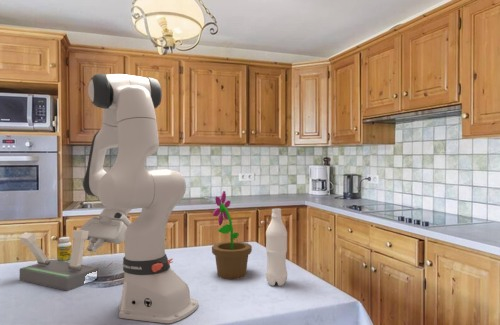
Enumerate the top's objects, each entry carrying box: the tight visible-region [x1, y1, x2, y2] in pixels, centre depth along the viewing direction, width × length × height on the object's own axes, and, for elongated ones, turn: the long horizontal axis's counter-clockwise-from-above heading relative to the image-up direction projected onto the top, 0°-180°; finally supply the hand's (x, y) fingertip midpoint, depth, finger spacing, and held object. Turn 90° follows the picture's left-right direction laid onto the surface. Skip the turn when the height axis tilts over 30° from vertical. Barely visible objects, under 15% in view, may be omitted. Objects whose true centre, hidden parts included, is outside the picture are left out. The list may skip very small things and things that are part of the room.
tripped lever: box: [68, 229, 89, 271], centre depth 121 cm, size 4×3×13 cm, turn 65°
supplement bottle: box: [56, 236, 73, 263], centre depth 146 cm, size 5×5×10 cm
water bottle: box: [265, 208, 288, 287], centre depth 119 cm, size 7×7×25 cm
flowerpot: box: [211, 190, 253, 280], centre depth 129 cm, size 14×14×30 cm
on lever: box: [18, 231, 51, 265], centre depth 124 cm, size 4×3×13 cm, turn 65°
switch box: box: [19, 259, 99, 292], centre depth 124 cm, size 24×12×4 cm, turn 65°
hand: (90, 250), depth 126 cm, fingers closed
